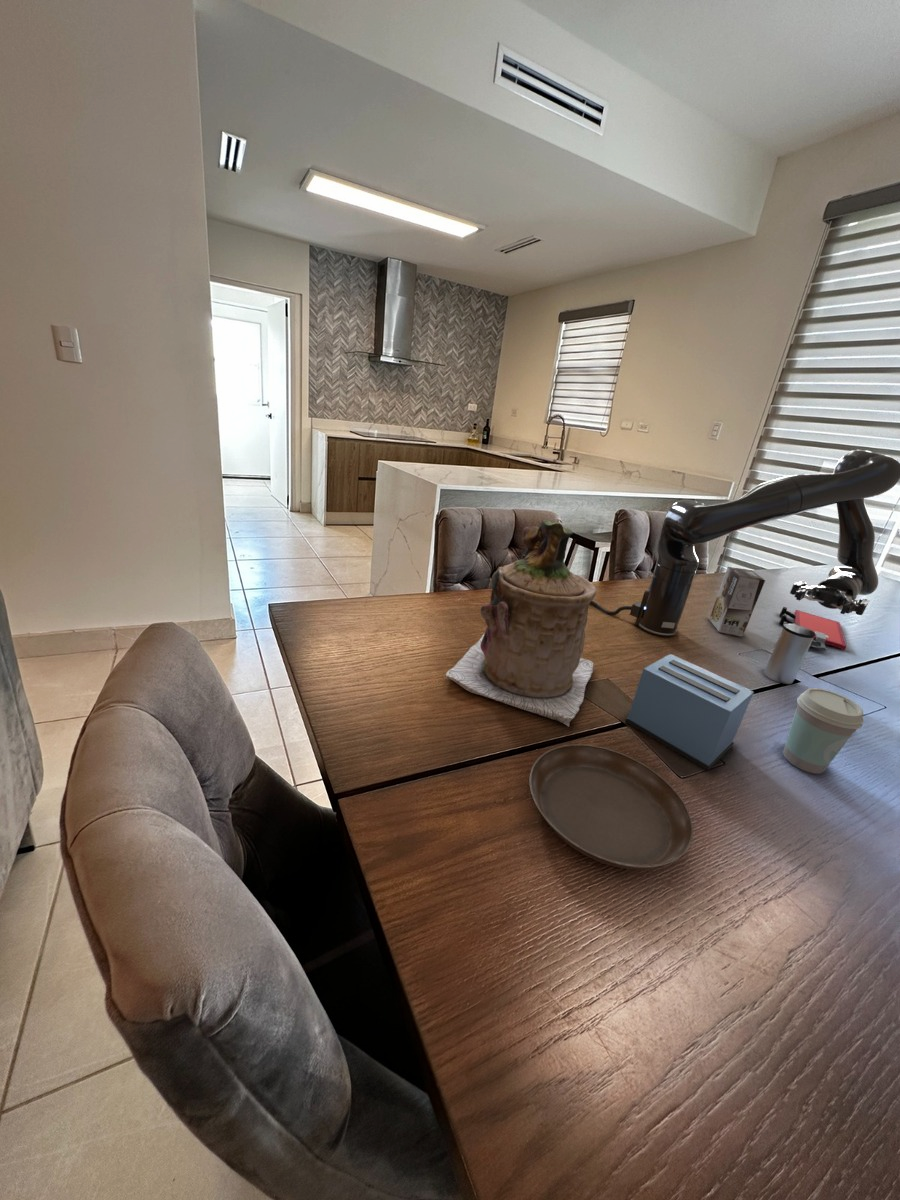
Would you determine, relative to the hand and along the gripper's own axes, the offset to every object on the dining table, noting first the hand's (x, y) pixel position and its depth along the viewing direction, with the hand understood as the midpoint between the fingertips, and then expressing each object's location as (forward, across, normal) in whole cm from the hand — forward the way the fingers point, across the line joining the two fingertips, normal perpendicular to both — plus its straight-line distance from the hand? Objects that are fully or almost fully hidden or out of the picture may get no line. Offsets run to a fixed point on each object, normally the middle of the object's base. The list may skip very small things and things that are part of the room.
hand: (821, 602), depth 106 cm
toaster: (+53, -4, +16) cm, 56 cm away
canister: (+11, 0, +16) cm, 20 cm away
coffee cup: (+41, +12, +16) cm, 46 cm away
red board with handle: (-29, -3, +16) cm, 33 cm away
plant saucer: (+80, -2, +16) cm, 82 cm away
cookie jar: (+63, -31, +16) cm, 72 cm away
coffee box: (-7, -18, +16) cm, 25 cm away
